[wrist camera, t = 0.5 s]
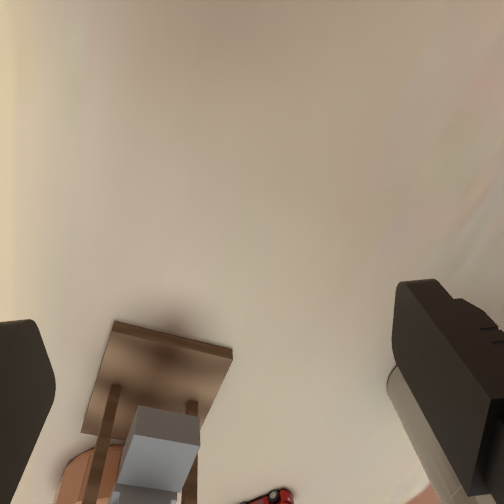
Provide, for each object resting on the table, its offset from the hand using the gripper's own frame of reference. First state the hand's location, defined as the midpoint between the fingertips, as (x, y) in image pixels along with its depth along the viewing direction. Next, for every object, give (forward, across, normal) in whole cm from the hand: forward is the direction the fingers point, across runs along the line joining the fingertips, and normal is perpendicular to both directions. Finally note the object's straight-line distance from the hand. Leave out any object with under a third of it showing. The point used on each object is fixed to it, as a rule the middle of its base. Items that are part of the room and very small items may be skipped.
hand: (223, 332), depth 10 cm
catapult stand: (+28, -9, -27) cm, 40 cm away
